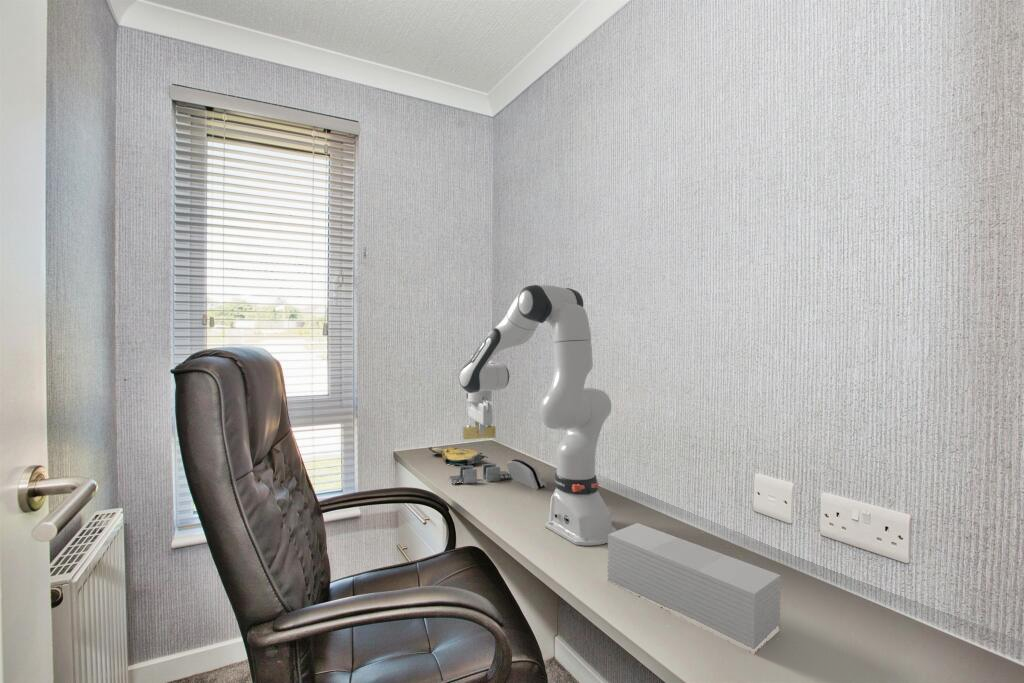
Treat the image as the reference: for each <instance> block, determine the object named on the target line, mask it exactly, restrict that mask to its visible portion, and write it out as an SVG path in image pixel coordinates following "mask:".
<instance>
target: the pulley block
mask: <svg viewBox="0 0 1024 683" xmlns="http://www.w3.org/2000/svg"><path fill="white" fill-rule="evenodd" d="M428 450H429V451H431V453H434V454H437V455H441V456H442V457H441V458H442V460H443V461H444V463H445V464H446V465H447V464H450V465H454V466H472V464H478V463H479V462H480V461H481V460H483V459H485V458H486V459H487V458H489V457H488V456H486V455H482V454H483V452H478V450H473V449H470V448H469V449H468V448H460V447H445V448H439V447H436V446H435V447H432V446H430V447H428ZM450 465H449V466H450ZM454 466H453V467H454Z"/></svg>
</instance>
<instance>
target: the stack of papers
mask: <svg viewBox="0 0 1024 683" xmlns="http://www.w3.org/2000/svg"><path fill="white" fill-rule="evenodd" d="M608 538H609V539H608V543H607V547H608V548H607V551H608V552H607V582H609V581H610V582H612V583H615V584H616V585H619V586H621V587H623V588H626V589H628V590H630V591H632V592H634V593H636V594H639V595H640V596H643V597H645V598H647V599H649V600H652V601H654V602H656V603H658V604H660V605H662V606H664V607H667V608H669V609H672V610H674V611H677V612H679V613H681V614H683V615H685V616H687V617H689V618H691V619H694V620H696V621H698V622H700V623H702V624H704V625H706V626H708V627H710V628H712V629H714V630H716V631H718V632H720V633H722V634H724V635H726V636H728V637H730V638H732V639H734V640H736V641H738V642H740V643H743V644H744V645H746V646H748V647H751V648H752V649H755V648H756V647H757V646H758V645H759V644H760V643H761V642H762V641H763V640H764V639H765V638H767V636H768V635H769V634H770V633H771V632H772V631H773V630H774V629H776V627H777V626H779V625H780V626H781V623H780V622H781V593H782V592H781V590H782V589H781V585H782V584H781V582H782V581H781V580H782V577H781V576H782V575H781V574H778V573H776V572H773V571H770V570H768V569H765V568H761V567H759V566H757V565H754V564H751V563H749V562H746V561H743V560H740V559H737V558H735V557H732V556H729V555H726V554H723V553H721V552H718V551H715V550H713V549H710V548H707V547H704V546H701V545H699V544H697V543H694V542H691V541H688V540H685V539H682V538H680V537H676V536H674V535H671V534H669V533H667V532H663V531H660V530H658V529H655V528H653V527H650V526H646V525H645V524H641V523H639V522H636V523H634V524H631V525H629V526H626V527H624V528H621V529H618V530H617V531H615V532H613V533H610V534H608ZM610 582H609V583H610ZM612 583H611V584H612ZM616 585H615V586H616Z"/></svg>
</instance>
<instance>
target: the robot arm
mask: <svg viewBox="0 0 1024 683" xmlns="http://www.w3.org/2000/svg"><path fill="white" fill-rule="evenodd" d="M545 322H546V323H548V324H550V326H551V328H552V337H553V341H552V342H553V363H554V364H553V365H554V366H553V375H552V376H553V377H552V380H551V384H550V386H549V389H548V391H547V394H546V395H545V396H544V397H543V398H542V400H541V401H540V403H539V416H540V419H541V421H542V423H543V424H544V425H545V427H547V428H549V429H553V430H560V431H566V432H565V433H564V434H565V435H564V437H563V438H562V439H561V440H560V442H559V443H558V445H557V448H556V472H555V474H554V487H555V489H554V492H553V493H552V495H551V497H550V505H549V514H548V516H549V517H548V520H546V521H545V523H544V527H545V528H546V529H548V530H550V531H551V532H553V533H554V534H557V535H559V536H560V537H562V538H564V539H565V540H567V541H569V542H571V543H572V544H574V545H577V546H600V545H605V543H606V544H608V539H609V538H608V534H610V533H613V532H615V531H618V530H617V529H616V528H615V526H614V525H613V522H612V513H613V512H612V508H611V507H610V506H607V505H606V503H605V501H604V498H602V496H601V494H600V492H599V488H600V486H599V485H600V483H598V478H597V476H596V454H597V453H596V452H597V444H598V441H599V437H600V434H601V431H602V428H603V426H604V423H605V422H606V420H607V418H608V417H609V416H610V414H611V412H612V402H611V398H610V396H609V395H608V394H607V393H606V392H605V391H603V390H601V389H597V388H592V387H585V384H586V379H587V377H588V374H590V372H592V370H593V367H594V364H593V363H594V362H593V346H592V345H593V344H592V335H591V327H590V326H591V325H590V322H589V318H588V314H587V311H586V309H585V308H584V300H583V297H582V294H580V292H579V291H577V290H575V289H572V288H570V287H560V286H555V285H550V284H549V285H546V284H545V285H538V284H533V285H528V286H526V287H523V288H522V289H521V290H520V291H519V293H518V294H517V296H516V297H515V298H514V300H513V301H512V303H511V304H510V307H509V308H508V309H507V312H506V314H505V316H504V317H503V319H502V320H501V321H500V322H499V323H498V324H497V325H496V326H495V327H494V328H492V329H491V330H490V331H489V332H487V334H486V335H485V336H484V338H483V339H482V341H481V342H480V344H479V346H477V348H476V350H475V351H474V353H473V354H472V355H471V356H470V359H469V360H468V361H467V362H466V363H465V364H464V365H463V367H462V368H461V370H460V371H459V375H458V382H459V385H460V387H462V389H463V390H464V391H466V393H465V398H466V399H467V402H466V406H467V407H466V408H467V416H468V418H470V419H473V422H474V423H473V424H474V427H479V429H478V434H480V435H483V434H484V428H485V426H488V425H491V426H493V406H492V404H491V403H490V402H492V400H493V391H499V390H503V389H505V388H506V387H507V386H508V385H509V382H510V370H509V369H508V368H507V366H506V365H505V364H503V363H500V362H498V361H496V359H494V356H495V355H496V354H497V353H499V352H501V351H503V350H506V349H509V348H513V347H517V346H521V345H523V344H525V343H527V342H528V341H529V340H530V339H531V338H532V337H533V336H534V334H535V332H536V330H537V328H538V326H539V324H543V323H545Z"/></svg>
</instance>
